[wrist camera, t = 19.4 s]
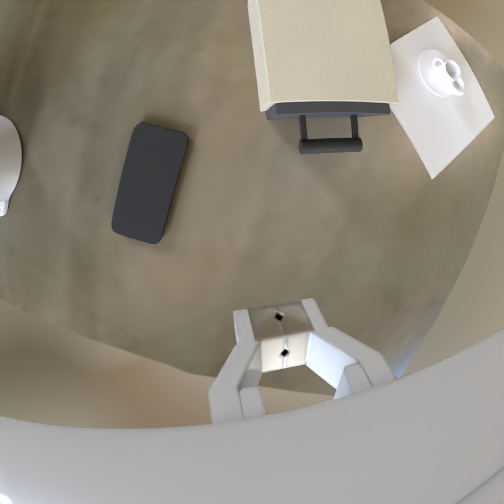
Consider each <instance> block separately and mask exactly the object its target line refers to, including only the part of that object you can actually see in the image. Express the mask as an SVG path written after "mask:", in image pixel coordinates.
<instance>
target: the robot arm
mask: <svg viewBox="0 0 504 504" xmlns="http://www.w3.org/2000/svg"><path fill="white" fill-rule="evenodd" d="M21 162H22V150H21V142H20V138H19V135H18V132H17V130H16V128H15V126H14V124H13V123H12V122H11V121H10V120H9V119H8V118H6V117H4V116H1V115H0V216H3V215H5V214H6V212H7V209H8V203H9V198H10V196H11V194H12V192H13V190H14V189H15V187H16V184H17V182H18V179H19V175H20V170H21ZM233 316H234V324H235V333H236V340H237V345H235V347H234V348H233V350H232V352H231V354H230V355H229V357H228V359H227V361H226V362H225V364H224V366H223V368H222V369H221V371H220V373H219V374H218V376H217V378H216V380H215V381H214V383H213V385H212V386H211V388H210V390H209V391H208V394H209V403H210V412H211V420H212V424H204V425H194V426H182V427H167V428H139V429H115V428H113V429H112V428H87V427H72V426H62V425H53V424H44V423H37V422H30V421H24V420H18V419H12V418H8V417H3V416H0V504H504V328H503V329H501V330H499V331H498V332H496V333H494V334H492V335H490V336H489V337H487V338H485V339H483V340H482V341H480V342H478V343H476V344H474V345H472V346H470V347H468V348H466V349H464V350H462V351H460V352H458V353H456V354H454V355H452V356H450V357H447V358H446V359H443V360H441V361H439V362H437V363H434V364H432V365H430V366H427V367H425V368H423V369H420V370H418V371H415V372H413V373H410V374H408V375H405V376H403V377H400V378H398V379H397V378H396V376H395V374H394V373H393V371H392V369H391V367H390V366H389V364H388V362H387V361H386V359H385V357H384V356H383V354H381V353H380V352H378V351H376V350H374V349H372V348H370V347H369V346H367V345H365V344H363V343H361V342H360V341H358V340H356V339H354V338H352V337H351V336H349V335H347V334H345V333H343V332H342V331H340V330H338V329H336V328H335V327H329V326H328V324H327V322H326V320H325V318H324V317H323V315H322V313H321V311H320V309H319V307H318V305H317V303H316V301H315V300H314V299H313V298H309V299H304V300H300V301H294V302H289V303H283V304H277V305H272V306H265V307H257V308H250V309H244V310H236V311H233ZM303 364H306V365H307V366H308V367H309V368H311V369H312V370H313V371H314V372H315V373H317V374H318V375H319V376H320V377H322V378H323V379H324V380H325V381H327V382H328V383H329V384H331V385H332V386H333V387H334V388H336V389H337V390H336V393H335V396H334V399H333V400H330V401H327V402H323V403H319V404H315V405H311V406H307V407H303V408H299V409H295V410H290V411H285V412H281V413H276V414H271V415H268V414H267V411H266V407H265V403H264V400H263V396H262V392H261V389H260V388H259V387H257V385H258V383H259V380H260V378H261V375H262V373H263V372H268V371H273V370H277V369H282V368H287V367H293V366H298V365H303Z"/></svg>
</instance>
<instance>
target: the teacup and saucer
mask: <svg viewBox="0 0 504 504" xmlns="http://www.w3.org/2000/svg"><path fill="white" fill-rule="evenodd" d="M418 70H419V74H420V77H421V79H422V81H423V83H424V84H425V86H426V87H427V88H428V89H429V90H430V91H431V92H432V93H433V94H435V95H436V96H438V97H441V98H448V97H451V96H452V95H453V94H454V95H456V96H463V95H464V94H465V93H466V91H467V84H466V81H465V79H464V78H463V77H462V76H461V69H460V67H459V65H458V64H457V63H456V62H455V61H454V60H452V59H450V58H449V57H448V56H447V55H446V54H445V53H444V52H443V51H441V50H439V49H437V48H433V47H430V48H426V49H425V50H423V51H422V52H421V54H420V56H419V59H418Z"/></svg>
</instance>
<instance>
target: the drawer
mask: <svg viewBox="0 0 504 504" xmlns="http://www.w3.org/2000/svg"><path fill="white" fill-rule="evenodd" d="M266 114H267V120H270V119H285V118H299V123H300V134H301V140H299V151H300V154H314V153H333V152H360V151H362V140H361V139H360V138H358V137H359V136H358V123H357V117H365V116H375V115H387V114H390V106H389V104H388V103H372V102H341V101H319V102H287V103H275V104H274V105H273V106H271V107H270V108H269V109H268V110H266ZM305 117H351V128H352V138H327V139H307V129H306V119H305Z"/></svg>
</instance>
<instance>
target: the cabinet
mask: <svg viewBox="0 0 504 504" xmlns="http://www.w3.org/2000/svg"><path fill="white" fill-rule="evenodd" d="M248 13H249V20H250V28H251V36H252V44H253V52H254V60H255V68H256V77H257V85H258V94H259V103H260V111H266V110H268V109H269V108H270V107H271V106H273V105H274V104H275V103H287V102H319V101H341V102H372V103H388V104H396V103H398V98H397V89H396V81H395V73H394V66H393V60H392V53H391V47H390V42H389V37H388V31H387V27H386V22H385V17H384V13H383V9H382V5H381V1H380V0H248Z"/></svg>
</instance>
